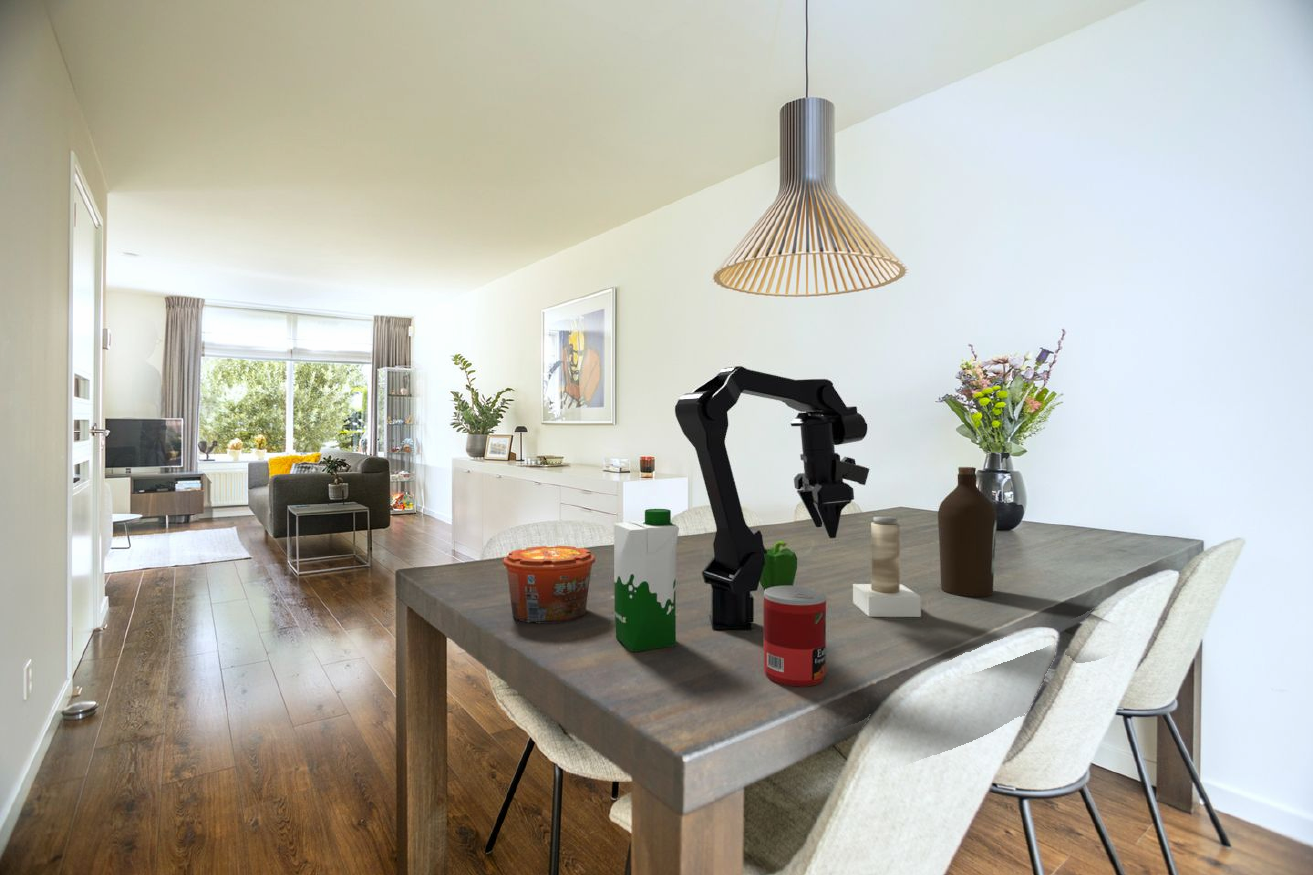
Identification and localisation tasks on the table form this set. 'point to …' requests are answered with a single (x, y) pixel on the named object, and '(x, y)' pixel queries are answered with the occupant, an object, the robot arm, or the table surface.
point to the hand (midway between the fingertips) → (825, 532)
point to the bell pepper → (779, 567)
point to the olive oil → (967, 539)
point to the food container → (549, 582)
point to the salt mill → (885, 555)
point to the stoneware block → (887, 602)
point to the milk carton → (645, 581)
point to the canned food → (794, 635)
